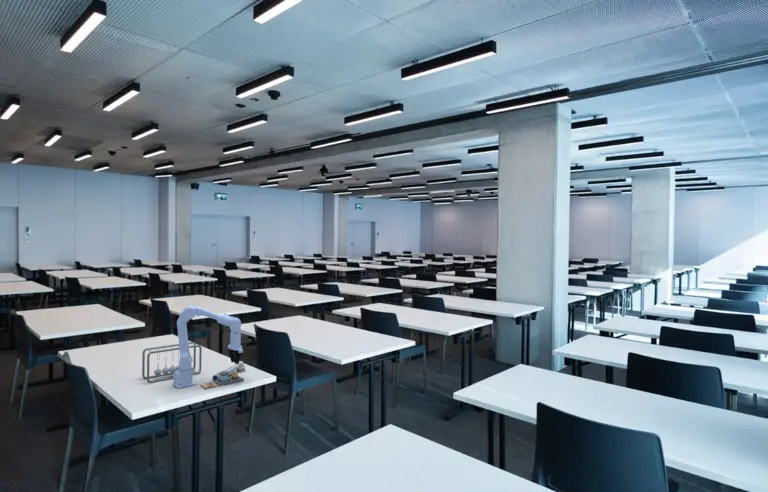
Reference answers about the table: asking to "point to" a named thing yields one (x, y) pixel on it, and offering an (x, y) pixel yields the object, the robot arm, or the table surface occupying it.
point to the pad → (208, 385)
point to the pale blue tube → (231, 370)
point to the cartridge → (224, 377)
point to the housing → (229, 381)
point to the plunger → (234, 375)
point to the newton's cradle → (166, 370)
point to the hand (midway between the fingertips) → (235, 362)
